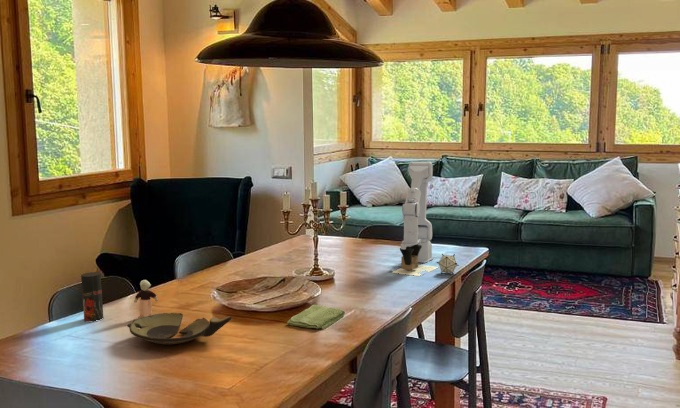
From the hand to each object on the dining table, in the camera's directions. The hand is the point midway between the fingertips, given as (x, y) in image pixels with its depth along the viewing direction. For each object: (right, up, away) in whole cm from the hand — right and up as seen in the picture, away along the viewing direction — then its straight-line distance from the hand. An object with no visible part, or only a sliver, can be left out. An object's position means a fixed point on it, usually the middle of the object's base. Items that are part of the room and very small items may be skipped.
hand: (410, 263), depth 277 cm
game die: (+14, -4, -5) cm, 16 cm away
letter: (+2, -3, +1) cm, 4 cm away
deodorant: (-110, -13, -59) cm, 126 cm away
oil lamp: (-77, -16, -82) cm, 114 cm away
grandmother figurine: (-93, -13, -59) cm, 111 cm away
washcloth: (-37, -13, -65) cm, 75 cm away
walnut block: (0, -2, +1) cm, 2 cm away
